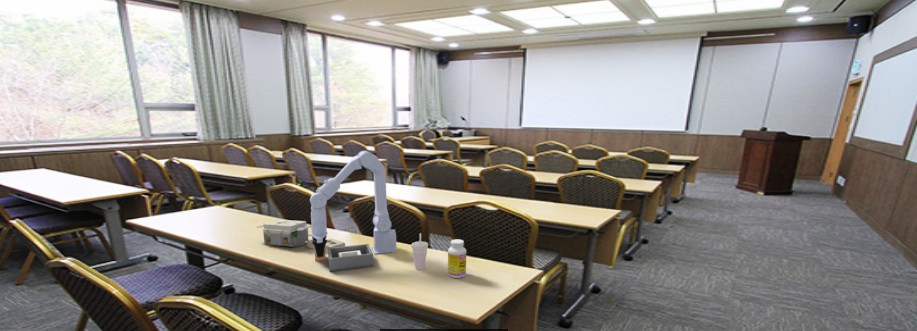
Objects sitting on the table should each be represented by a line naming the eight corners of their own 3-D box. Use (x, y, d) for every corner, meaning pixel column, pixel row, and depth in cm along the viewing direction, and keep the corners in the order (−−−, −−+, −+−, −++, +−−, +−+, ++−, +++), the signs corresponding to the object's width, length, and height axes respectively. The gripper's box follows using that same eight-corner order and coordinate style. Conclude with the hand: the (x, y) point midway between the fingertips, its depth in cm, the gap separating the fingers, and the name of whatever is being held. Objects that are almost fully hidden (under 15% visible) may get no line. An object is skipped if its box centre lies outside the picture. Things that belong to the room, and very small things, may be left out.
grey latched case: (299, 250, 162) (297, 227, 161) (254, 245, 174) (252, 224, 173) (319, 242, 173) (317, 221, 172) (276, 238, 185) (273, 218, 184)
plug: (325, 256, 157) (324, 240, 156) (325, 259, 153) (325, 243, 152) (315, 257, 155) (314, 241, 154) (315, 260, 152) (314, 244, 151)
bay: (368, 255, 158) (368, 243, 158) (373, 266, 146) (373, 254, 146) (328, 260, 152) (327, 248, 152) (329, 272, 140) (329, 259, 140)
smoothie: (415, 272, 140) (414, 236, 139) (409, 266, 146) (408, 231, 144) (431, 269, 143) (430, 233, 142) (424, 264, 149) (424, 229, 147)
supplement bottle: (459, 280, 134) (460, 245, 132) (444, 276, 137) (444, 242, 136) (469, 273, 140) (469, 240, 138) (454, 270, 143) (454, 237, 142)
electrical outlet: (321, 234, 174) (345, 242, 163) (321, 243, 174) (345, 251, 164) (306, 238, 168) (331, 246, 158) (307, 247, 169) (331, 256, 158)
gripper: (308, 218, 158) (309, 250, 159) (308, 228, 144) (309, 262, 146) (326, 217, 160) (327, 248, 162) (327, 226, 147) (328, 259, 148)
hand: (320, 254), depth 154 cm, fingers closed on plug, 4 cm apart
